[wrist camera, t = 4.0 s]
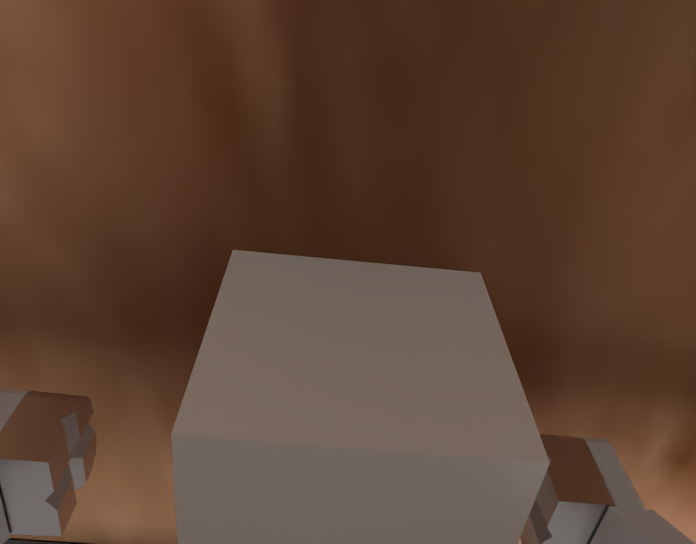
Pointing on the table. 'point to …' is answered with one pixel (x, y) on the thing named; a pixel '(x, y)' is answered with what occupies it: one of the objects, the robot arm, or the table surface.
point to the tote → (28, 542)
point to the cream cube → (353, 410)
